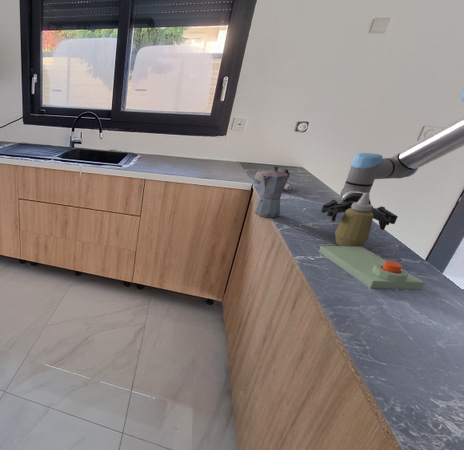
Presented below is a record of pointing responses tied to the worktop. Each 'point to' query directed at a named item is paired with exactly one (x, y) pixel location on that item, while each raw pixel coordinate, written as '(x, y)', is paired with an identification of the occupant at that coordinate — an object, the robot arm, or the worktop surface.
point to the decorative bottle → (258, 174)
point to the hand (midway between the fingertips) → (358, 221)
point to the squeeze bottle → (355, 224)
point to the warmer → (369, 268)
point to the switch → (392, 267)
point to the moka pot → (271, 192)
